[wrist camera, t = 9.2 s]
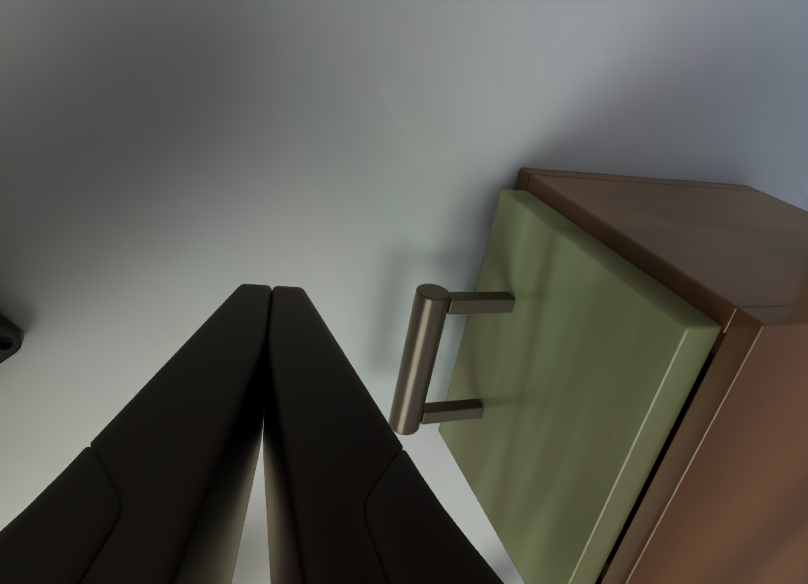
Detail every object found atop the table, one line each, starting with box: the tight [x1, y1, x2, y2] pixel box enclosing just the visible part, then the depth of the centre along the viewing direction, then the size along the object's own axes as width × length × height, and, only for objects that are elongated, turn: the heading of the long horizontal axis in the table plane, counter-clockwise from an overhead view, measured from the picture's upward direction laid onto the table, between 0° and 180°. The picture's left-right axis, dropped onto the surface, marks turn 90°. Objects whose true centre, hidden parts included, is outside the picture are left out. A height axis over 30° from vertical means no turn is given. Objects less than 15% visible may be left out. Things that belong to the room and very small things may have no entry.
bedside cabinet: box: [515, 168, 808, 584], centre depth 24 cm, size 13×13×12 cm
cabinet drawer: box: [389, 189, 725, 584], centre depth 22 cm, size 15×12×10 cm
